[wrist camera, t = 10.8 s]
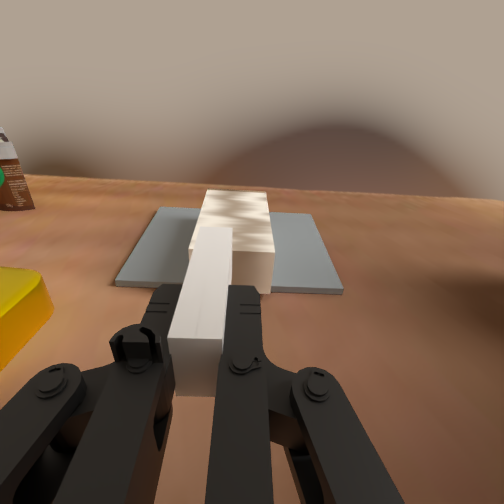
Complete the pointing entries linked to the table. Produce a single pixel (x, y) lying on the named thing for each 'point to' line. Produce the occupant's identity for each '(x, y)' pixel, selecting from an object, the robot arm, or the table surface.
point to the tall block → (242, 233)
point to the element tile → (21, 309)
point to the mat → (285, 263)
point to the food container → (12, 179)
